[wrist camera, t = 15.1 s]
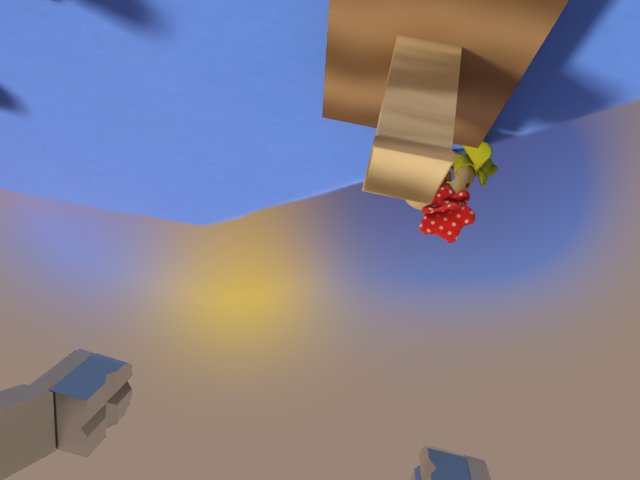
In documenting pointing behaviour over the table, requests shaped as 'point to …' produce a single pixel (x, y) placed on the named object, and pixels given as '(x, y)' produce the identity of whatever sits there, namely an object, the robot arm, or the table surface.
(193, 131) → the table surface
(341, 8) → the pedestal
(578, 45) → the table surface
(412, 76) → the beech post
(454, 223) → the bird rattle
